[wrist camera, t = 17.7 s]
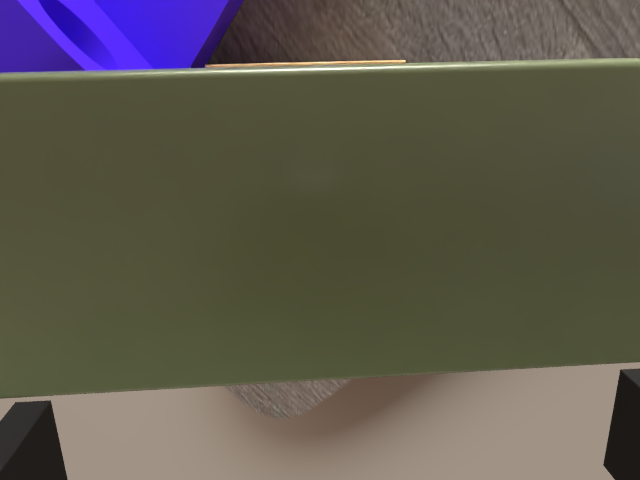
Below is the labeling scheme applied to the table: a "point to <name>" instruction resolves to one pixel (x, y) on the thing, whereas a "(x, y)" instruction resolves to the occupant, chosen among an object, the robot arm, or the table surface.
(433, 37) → the table surface
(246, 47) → the table surface
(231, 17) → the bracket
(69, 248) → the two-tone angled block
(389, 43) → the table surface
